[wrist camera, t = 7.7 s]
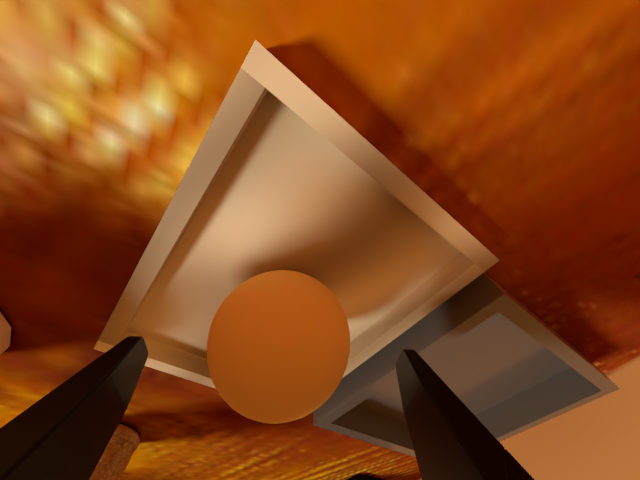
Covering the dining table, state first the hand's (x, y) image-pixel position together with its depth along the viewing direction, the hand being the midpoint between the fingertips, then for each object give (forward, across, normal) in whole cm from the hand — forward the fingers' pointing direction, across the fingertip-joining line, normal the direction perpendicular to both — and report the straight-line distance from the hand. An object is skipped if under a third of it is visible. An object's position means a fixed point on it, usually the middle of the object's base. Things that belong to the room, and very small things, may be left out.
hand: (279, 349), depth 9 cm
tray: (+4, 0, 0) cm, 4 cm away
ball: (+3, 0, 0) cm, 3 cm away
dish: (+4, -11, +6) cm, 13 cm away
